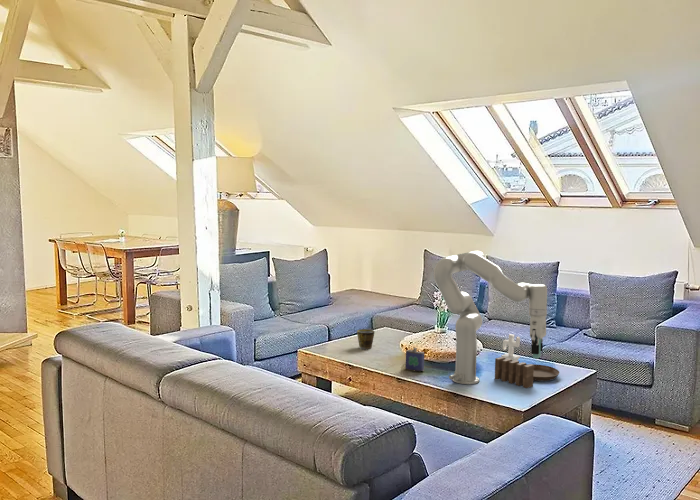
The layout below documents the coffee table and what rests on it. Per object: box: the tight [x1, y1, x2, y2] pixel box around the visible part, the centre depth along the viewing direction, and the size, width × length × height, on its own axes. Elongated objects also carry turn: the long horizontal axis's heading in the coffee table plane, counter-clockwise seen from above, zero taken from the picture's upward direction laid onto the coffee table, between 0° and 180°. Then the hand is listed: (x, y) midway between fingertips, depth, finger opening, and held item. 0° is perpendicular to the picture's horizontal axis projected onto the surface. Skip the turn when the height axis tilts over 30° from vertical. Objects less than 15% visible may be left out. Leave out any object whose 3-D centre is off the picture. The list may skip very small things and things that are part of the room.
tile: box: [532, 337, 542, 360], centre depth 282 cm, size 2×5×10 cm, turn 148°
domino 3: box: [507, 360, 520, 385], centre depth 296 cm, size 2×5×10 cm, turn 129°
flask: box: [404, 347, 425, 372], centre depth 314 cm, size 10×3×12 cm, turn 60°
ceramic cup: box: [356, 328, 375, 351], centre depth 357 cm, size 13×10×10 cm
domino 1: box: [494, 356, 505, 381], centre depth 302 cm, size 2×5×10 cm, turn 129°
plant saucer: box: [526, 363, 560, 382], centre depth 308 cm, size 21×21×3 cm
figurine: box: [500, 333, 521, 361], centre depth 331 cm, size 7×9×15 cm
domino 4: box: [515, 361, 527, 387], centre depth 293 cm, size 2×5×10 cm, turn 129°
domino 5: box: [522, 363, 534, 389], centre depth 290 cm, size 2×5×10 cm, turn 129°
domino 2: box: [500, 359, 512, 383], centre depth 299 cm, size 2×5×10 cm, turn 129°
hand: (536, 352), depth 282 cm, fingers closed on tile, 4 cm apart
